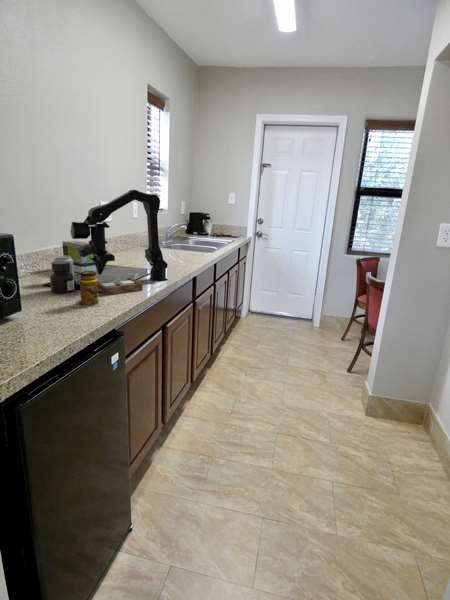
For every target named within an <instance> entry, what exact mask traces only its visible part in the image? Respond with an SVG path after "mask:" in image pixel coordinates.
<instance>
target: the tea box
mask: <svg viewBox="0 0 450 600" xmlns="http://www.w3.org/2000/svg"><path fill="white" fill-rule="evenodd" d="M88 244H89V241H87V240H81V239H75V240H66V241H64V240H63V241H62V255H66V256H71V259H72V260H73V269H74V273H79V274H80V273H81V272H83V271H94V272H96V273H97V269H96V266H95V263H94V262H93V261H92V260H91V259H90V258H91V255H88V256H86V257H82V256H80V255H79V253H78V251H77V249H78V248H80V247H83V246H85V245H88Z"/></svg>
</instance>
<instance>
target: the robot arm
mask: <svg viewBox="0 0 450 600" xmlns="http://www.w3.org/2000/svg"><path fill="white" fill-rule="evenodd" d="M133 201H137V202H138V203H139V202H140V203H142V204H143V209H144V211H145V214H146V220H147V223H146V224H147V237H148V238H147V239H148V240H147V241H148V247H147V248H145V249H144V253H145V256H144V258H145V259H146V261H147V262H148V263H149V266H150V272H149V273H150V277H149V279H150V280H152V281H154V282H160V281H168V278H166V277H167V276H166V275H167V270H166V269H167V268H168V262H166V261H165V259H164V256H163V252H162V249H161V247H160V241H159V239H160V238H159V224H158V223H159V222H158V220H159V219H158V214H159V212H160V206H161V198H160V196H159V195H157V194H154V193H146V192H142V191H139V190H137V189H129V190H128V191H127V192H125V193H124V194H121V195H120V196H118V197H116V198H115V199H112V200H111V201H109V202H107V203H104V204H101V205H100V204H99V205H97V206H93V207H91V208H90V209H89V210H88V213H87V214H88V215H87V216H86V218H85V219H84V221H83V222H77V221H71V226H70V236H71V239H72V240H85V239H87V240H88V239H89V238H90V240H89V241H88V242H89V244H88V245H85V246H83V247H80V248H78V249H77V251H78V253H79V255H80V256H82V257H86V256H88V255H91V258H90V259H91V260H92V261H93V262H94V263H95V266H96V269H97V271H96V273H97V274H98V275H102V274H103V273H104V270H105V267H106V265H107V263H108V262H115V261H116V258H115V255H114V254H112V253H110V252H108V250H107V249H106V244H108V240H106V232H105V231H106V230H105V229H107V228H108V229H109V228H111V227H110V225H109V224H108V223H107V222H106V220H107V219H108V218H109V217H110V216H111V215H112V214H113V213H114V212H116V211H118V210H119V209H121V208H123V207H124V206H126V205H128V204H129V203H131V202H133Z"/></svg>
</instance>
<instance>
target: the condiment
mask: <svg viewBox="0 0 450 600" xmlns="http://www.w3.org/2000/svg"><path fill="white" fill-rule="evenodd" d="M79 275H80V277H79V278H80V279H79V287H80V289H79V290H80V291H79V293H80V299H76V301H75V304H74V305H73V307H74V308H75V307H88V308H89V307H90V308H91V307H99V305H100V304H101V299H100V300H99V291H98V283H99V282H98V281H99V280H98V278H97V271H96V272H94V271H83V272H81V273H79Z"/></svg>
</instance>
